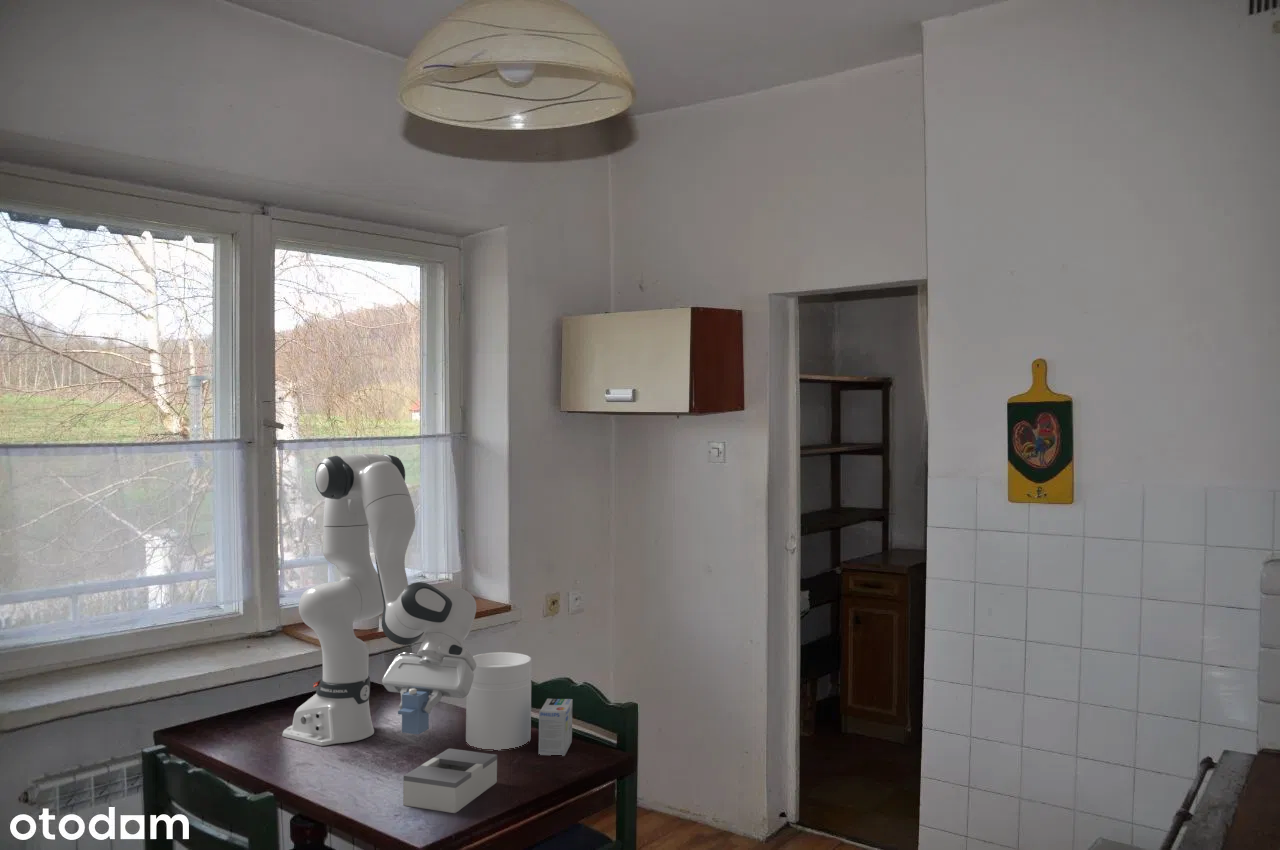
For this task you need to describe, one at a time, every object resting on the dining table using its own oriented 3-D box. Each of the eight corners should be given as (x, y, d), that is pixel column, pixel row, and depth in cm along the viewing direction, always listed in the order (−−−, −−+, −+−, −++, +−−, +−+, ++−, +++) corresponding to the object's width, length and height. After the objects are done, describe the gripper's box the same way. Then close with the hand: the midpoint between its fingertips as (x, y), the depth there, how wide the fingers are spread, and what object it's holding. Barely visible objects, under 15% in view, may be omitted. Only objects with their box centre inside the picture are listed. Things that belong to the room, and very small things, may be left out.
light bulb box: (546, 741, 232) (546, 697, 233) (572, 742, 232) (573, 698, 232) (537, 755, 222) (538, 709, 222) (565, 756, 221) (566, 710, 221)
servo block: (395, 735, 195) (395, 692, 196) (418, 724, 204) (418, 682, 204) (412, 737, 194) (412, 693, 194) (434, 725, 202) (434, 684, 202)
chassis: (403, 805, 191) (403, 775, 191) (448, 775, 208) (448, 748, 208) (455, 813, 187) (455, 783, 187) (496, 782, 204) (497, 754, 204)
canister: (493, 726, 244) (494, 649, 244) (543, 736, 236) (544, 657, 236) (452, 743, 230) (453, 661, 230) (503, 754, 222) (504, 670, 222)
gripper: (392, 643, 209) (366, 698, 200) (473, 649, 203) (450, 706, 193) (403, 659, 213) (378, 714, 204) (483, 665, 207) (461, 722, 197)
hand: (414, 710), depth 198 cm, fingers closed on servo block, 4 cm apart
